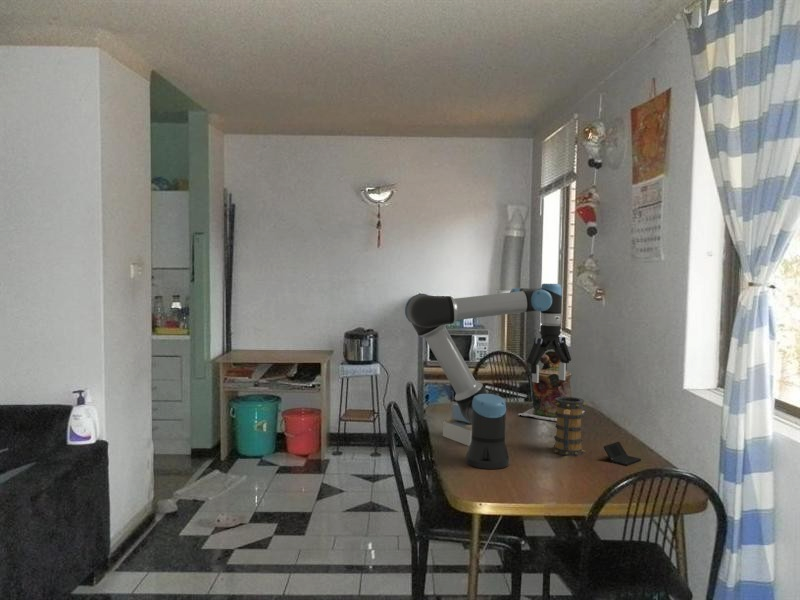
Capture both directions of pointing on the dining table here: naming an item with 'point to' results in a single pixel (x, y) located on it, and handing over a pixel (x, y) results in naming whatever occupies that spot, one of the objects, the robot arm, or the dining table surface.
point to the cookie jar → (548, 388)
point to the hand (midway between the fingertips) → (548, 381)
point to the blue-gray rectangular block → (457, 413)
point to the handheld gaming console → (619, 455)
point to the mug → (568, 426)
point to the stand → (457, 430)
